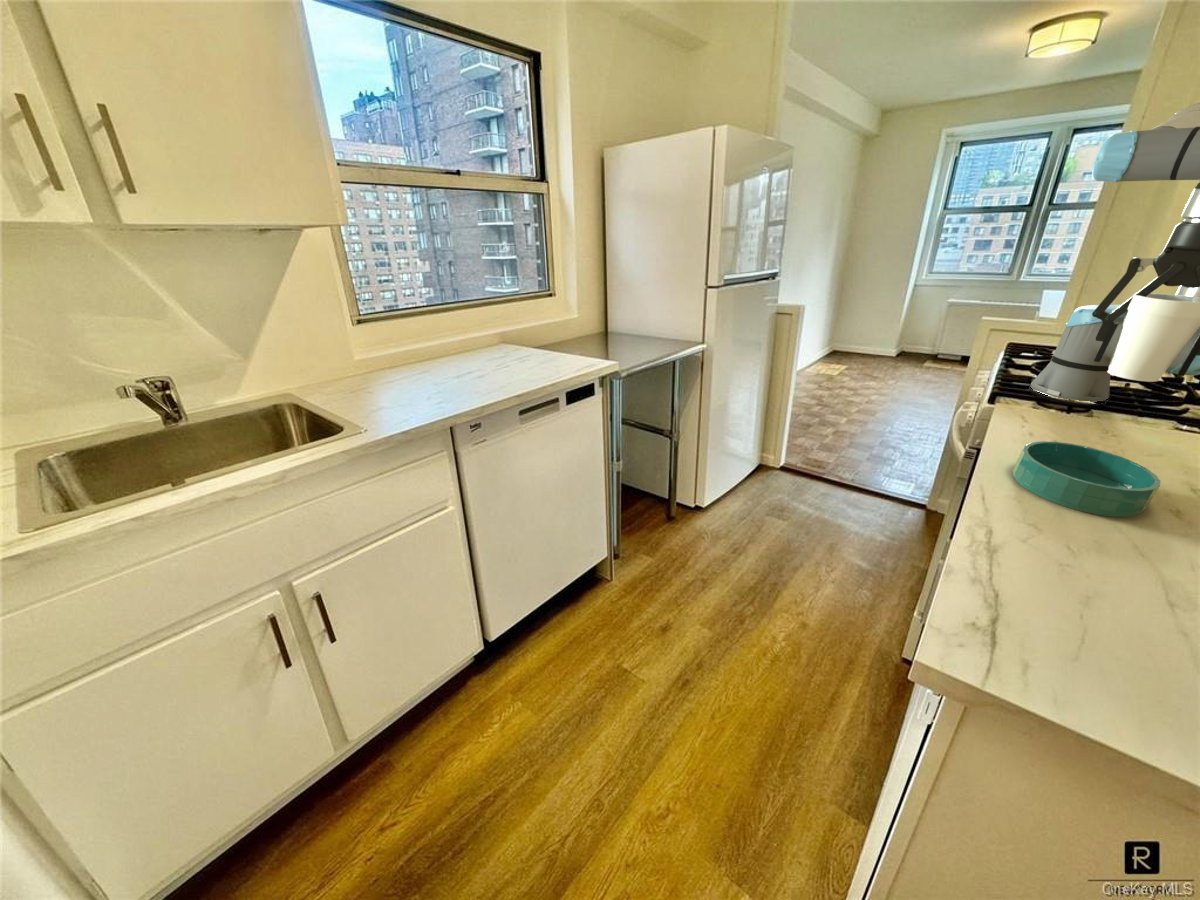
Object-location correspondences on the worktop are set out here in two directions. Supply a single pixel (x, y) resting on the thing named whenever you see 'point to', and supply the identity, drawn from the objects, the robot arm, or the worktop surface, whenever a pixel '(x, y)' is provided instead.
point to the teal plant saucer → (1085, 478)
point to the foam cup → (1154, 335)
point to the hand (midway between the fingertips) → (1137, 366)
